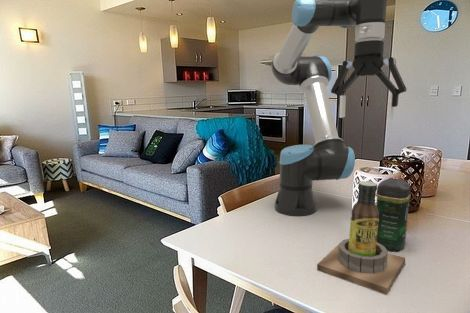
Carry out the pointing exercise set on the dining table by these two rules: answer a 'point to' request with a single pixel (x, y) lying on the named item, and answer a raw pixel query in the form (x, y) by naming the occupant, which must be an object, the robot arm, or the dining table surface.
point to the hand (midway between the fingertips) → (364, 118)
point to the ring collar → (363, 267)
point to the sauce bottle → (364, 221)
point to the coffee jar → (392, 212)
